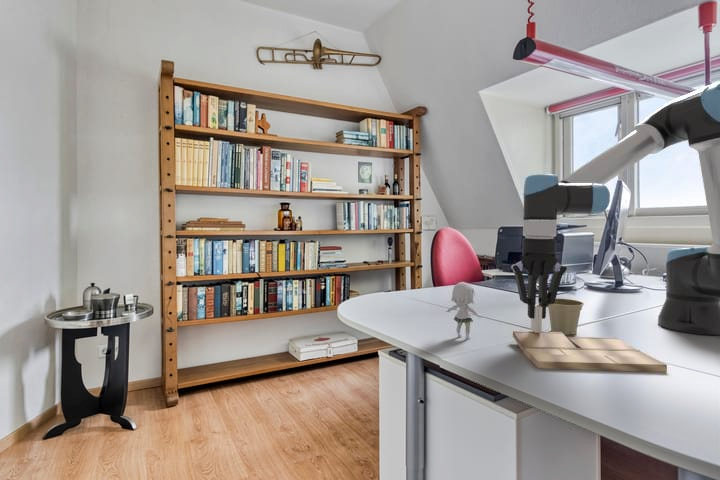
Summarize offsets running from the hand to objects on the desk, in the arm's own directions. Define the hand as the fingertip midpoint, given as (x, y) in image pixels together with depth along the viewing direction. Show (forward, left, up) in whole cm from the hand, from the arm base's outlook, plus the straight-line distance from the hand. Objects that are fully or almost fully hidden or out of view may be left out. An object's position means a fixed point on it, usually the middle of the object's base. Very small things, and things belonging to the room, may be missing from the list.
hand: (536, 330), depth 94 cm
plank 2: (-13, +3, -3) cm, 14 cm away
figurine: (+18, -3, -3) cm, 18 cm away
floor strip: (-7, +12, -3) cm, 15 cm away
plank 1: (0, +3, -2) cm, 4 cm away
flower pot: (-11, -11, -4) cm, 16 cm away
